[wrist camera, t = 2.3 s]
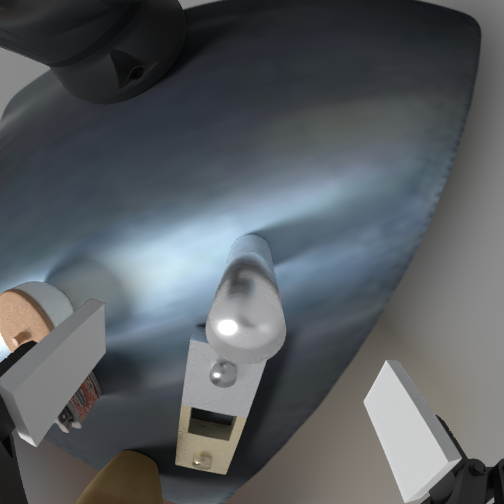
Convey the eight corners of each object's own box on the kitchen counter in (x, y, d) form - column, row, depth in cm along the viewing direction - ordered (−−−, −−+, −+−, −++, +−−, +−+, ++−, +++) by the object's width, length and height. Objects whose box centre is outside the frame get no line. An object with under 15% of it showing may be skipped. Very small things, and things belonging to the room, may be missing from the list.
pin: (234, 230, 28) (212, 287, 13) (274, 239, 28) (295, 305, 13) (226, 268, 29) (200, 355, 14) (265, 277, 29) (274, 370, 14)
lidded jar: (51, 253, 29) (1, 277, 20) (103, 322, 31) (64, 364, 22) (21, 296, 30) (-21, 323, 21) (65, 354, 32) (31, 392, 23)
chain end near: (196, 325, 30) (188, 344, 27) (267, 340, 31) (268, 361, 27) (182, 415, 34) (177, 435, 30) (238, 427, 35) (237, 447, 31)
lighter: (105, 396, 34) (79, 442, 24) (89, 395, 34) (61, 438, 25) (83, 352, 32) (46, 396, 22) (66, 352, 32) (29, 392, 23)
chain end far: (186, 389, 33) (180, 410, 29) (247, 401, 33) (246, 423, 29) (178, 450, 37) (174, 469, 33) (226, 460, 37) (225, 479, 33)
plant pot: (114, 470, 40) (92, 526, 25) (93, 428, 37) (59, 493, 21) (183, 486, 40) (170, 549, 25) (173, 448, 37) (152, 527, 21)
